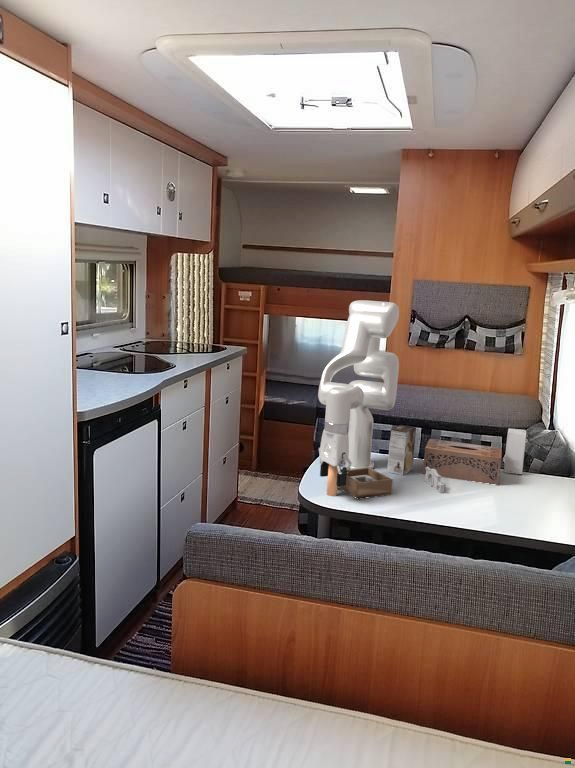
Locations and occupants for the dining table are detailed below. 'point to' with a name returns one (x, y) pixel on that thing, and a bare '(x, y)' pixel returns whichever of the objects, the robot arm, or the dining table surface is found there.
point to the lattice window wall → (434, 479)
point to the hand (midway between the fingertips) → (332, 480)
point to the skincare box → (515, 451)
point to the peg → (332, 480)
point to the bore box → (367, 483)
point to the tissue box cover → (463, 461)
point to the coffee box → (401, 449)
